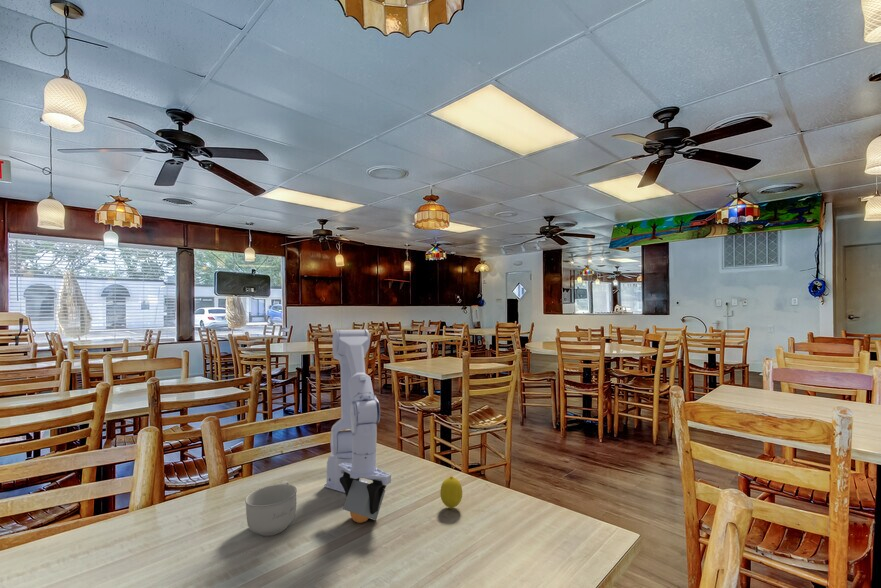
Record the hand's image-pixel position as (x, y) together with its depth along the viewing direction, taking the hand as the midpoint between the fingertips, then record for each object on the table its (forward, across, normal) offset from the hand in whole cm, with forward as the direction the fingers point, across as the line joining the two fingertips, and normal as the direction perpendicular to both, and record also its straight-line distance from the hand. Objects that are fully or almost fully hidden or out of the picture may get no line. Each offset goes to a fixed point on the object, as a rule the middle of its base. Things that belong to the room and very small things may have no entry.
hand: (363, 508), depth 96 cm
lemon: (+3, +16, +15) cm, 22 cm away
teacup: (+3, -16, -12) cm, 20 cm away
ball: (0, 0, -1) cm, 1 cm away
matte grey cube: (+1, 0, -1) cm, 2 cm away
